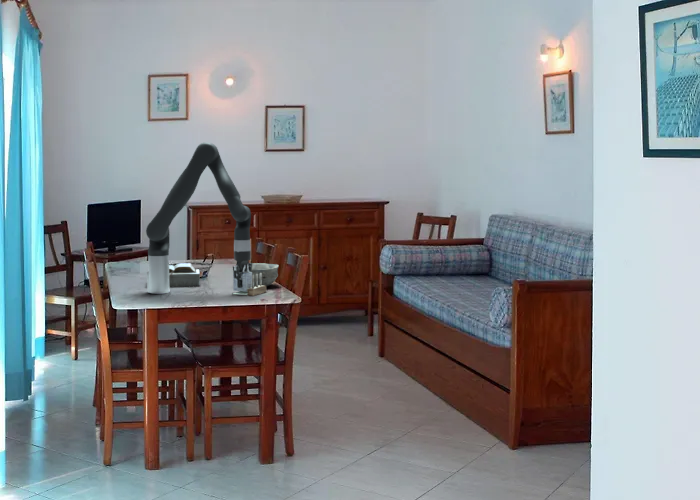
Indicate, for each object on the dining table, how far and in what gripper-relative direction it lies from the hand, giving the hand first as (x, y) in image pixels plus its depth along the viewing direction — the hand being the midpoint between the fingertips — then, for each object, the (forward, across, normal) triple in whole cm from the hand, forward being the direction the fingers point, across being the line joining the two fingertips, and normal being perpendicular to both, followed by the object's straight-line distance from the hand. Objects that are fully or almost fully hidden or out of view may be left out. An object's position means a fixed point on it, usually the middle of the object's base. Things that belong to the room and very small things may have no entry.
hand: (242, 286), depth 413 cm
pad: (+3, 0, +1) cm, 3 cm away
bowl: (+3, -20, -3) cm, 20 cm away
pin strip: (+3, 0, +7) cm, 8 cm away
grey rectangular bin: (+3, -11, -44) cm, 46 cm away
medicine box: (+2, 0, 0) cm, 2 cm away
